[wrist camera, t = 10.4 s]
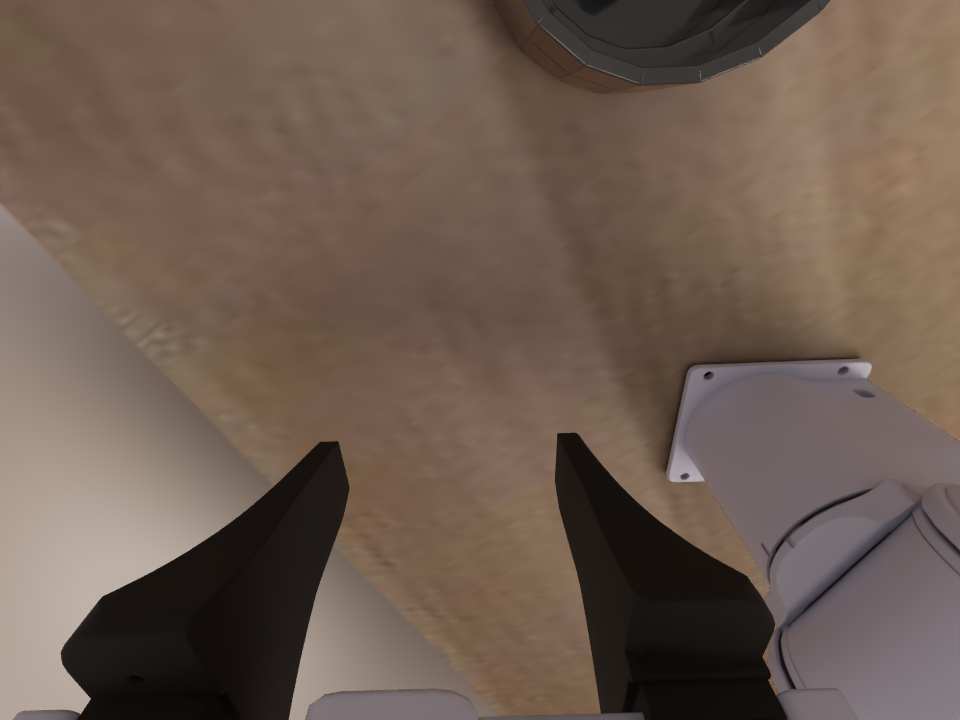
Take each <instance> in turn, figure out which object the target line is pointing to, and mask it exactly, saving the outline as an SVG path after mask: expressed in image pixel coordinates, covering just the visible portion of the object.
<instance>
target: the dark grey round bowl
mask: <svg viewBox="0 0 960 720" xmlns="http://www.w3.org/2000/svg"><path fill="white" fill-rule="evenodd" d="M829 1H830V0H493V2H494V5H495V7H496V9H497V10H498V12H499V14H500V15H501V17H502V18H503V20H504V22H505V23H506V25H507V27H508V28H509V30H510V31H511V33H512V35H513V36H514V38H515V40H516V41H517V43H518V44H519V46H520V48H521V49H522V48H523V51H524V52H525V53H527V54H528V55H529V56H530V57H531V58H533V59H534V60H535V61H536V62H537V63H539V64H540V65H541V66H542V67H543V68H545V69H546V70H547V71H548V72H549V73H551V74H552V75H553V76H554V77H555V78H559V80H561V81H564V82H567V83H570V84H573V85H575V86H578V87H581V88H584V89H587V90H590V91H593V92H596V93H602V94H604V93H626V92H644V91H650V90H656V89H663V88H670V87H676V86H683V85H689V84H696V83H700V82H703V81H706V80H708V79H711V78H713V77H716V76H718V75H721V74H723V73H726V72H728V71H731V70H733V69H736V68H738V67H741V66H743V65H746V64H748V63H750V62H753V61H755V60H758V59H759V58H761V57H763V56H764V55H765V54H767V53H768V52H769V51H771V50H772V49H773V48H775V47H776V46H777V45H778V44H780V43H781V42H782V41H784V40H785V39H786V38H788V37H789V36H790V35H791V34H793V33H794V32H795V31H797V30H798V29H799V28H801V27H802V26H803V25H804V24H806V23H807V22H808V21H810V20H811V19H812V18H814V17H815V16H816V15H817V14H819V13H820V11H822V10H823V9H824V7H825V6H826V5H827V4H828V3H829Z"/></svg>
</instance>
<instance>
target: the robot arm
mask: <svg viewBox="0 0 960 720" xmlns="http://www.w3.org/2000/svg"><path fill="white" fill-rule="evenodd" d="M842 367H843V368H842ZM840 368H842V369H841V370H839V369H840ZM871 369H872V365H871V363H870V362H868V361H867V360H865V359H838V360H812V361H786V362H759V363H733V364H707V365H695V366H693V367H691V368H690V369H689V370H688V372H687V375H686V380H685V385H684V390H683V394H682V399H681V404H680V409H679V414H678V418H677V423H676V428H675V433H674V437H673V442H672V447H671V452H670V457H669V461H668V466H667V471H666V476H667V478H668V479H669V481H671V482H696V481H705V482H706V484H707V485H708V487H709V489H710V490H711V492H712V493H713V495H714V497H715V498H716V500H717V501H718V503H719V504H720V506H721V508H722V509H723V511H724V512H725V514H726V516H727V517H728V519H729V520H730V522H731V524H732V525H733V527H734V528H735V530H736V532H737V533H738V535H739V536H740V538H741V540H742V541H743V543H744V544H745V546H746V548H747V549H748V551H749V552H750V554H751V555H752V557H753V559H754V560H755V562H756V563H757V565H758V567H759V568H760V570H761V571H762V573H763V575H764V576H765V578H766V579H767V581H768V583H769V584H770V590H769V592H768V594H767V595H766V596H765V598H764V599H763V598H762V597H761V595H760V594H759V592H758V591H757V589H756V588H755V587H754V585H753V584H752V583H751V582H750V580H749V578H748V577H747V576H746V575H744V574H742V573H740V572H739V571H737V570H735V569H733V568H731V567H729V566H728V565H726V564H724V563H722V562H720V561H718V560H717V559H715V558H713V557H711V556H710V555H708V554H706V553H705V552H703V551H702V550H700V549H698V548H697V547H695V546H694V545H692V544H690V543H689V542H687V541H686V540H685V539H683V538H682V537H680V536H679V535H677V534H676V533H675V532H673V531H672V530H671V529H669V528H668V527H666V526H665V525H664V524H662V523H661V522H660V521H658V520H657V519H656V518H655V517H654V516H652V515H651V514H650V513H649V512H648V511H647V510H645V509H644V508H643V507H642V506H641V505H640V504H639V503H638V502H636V501H635V500H634V499H633V498H632V497H631V496H630V495H629V494H628V493H627V492H626V491H625V490H624V489H623V488H622V487H621V486H620V485H619V484H618V482H617V481H616V480H615V479H614V478H613V477H612V476H611V475H610V474H609V472H608V471H607V470H606V469H605V468H604V467H603V466H602V464H601V463H600V462H599V461H598V460H597V458H596V457H595V456H594V455H593V453H592V452H591V451H590V449H589V448H588V447H587V446H586V444H585V443H584V441H583V440H582V439H581V437H580V436H579V435H578V434H577V433H557V452H556V470H555V484H556V491H557V497H558V503H559V509H560V513H561V517H562V520H563V524H564V528H565V531H566V535H567V538H568V542H569V545H570V549H571V553H572V556H573V560H574V563H575V567H576V570H577V574H578V579H579V583H580V587H581V593H582V599H583V604H584V610H585V615H586V621H587V627H588V633H589V639H590V645H591V651H592V657H593V664H594V670H595V677H596V683H597V690H598V696H599V703H600V710H601V714H566V715H530V716H495V717H478V714H477V710H476V708H475V707H474V705H473V704H472V702H471V701H470V700H469V699H468V698H467V697H465V696H463V695H461V694H458V693H457V692H454V691H450V690H442V689H405V690H370V691H341V692H336V693H330V694H325V695H324V696H322V697H321V698H320V699H318V700H316V701H315V702H314V703H312V704H311V705H309V708H308V712H307V715H306V719H305V720H960V441H958V440H957V439H955V438H954V437H952V436H951V435H949V434H948V433H946V432H945V431H943V430H942V429H940V428H939V427H937V426H936V425H934V424H933V423H931V422H930V421H928V420H927V419H925V418H924V417H922V416H921V415H919V414H918V413H916V412H915V411H913V410H912V409H910V408H909V407H907V406H906V405H904V404H903V403H902V402H900V401H899V400H897V399H896V398H894V397H893V396H891V395H890V394H888V393H887V392H885V391H884V390H882V389H881V388H879V387H878V386H876V385H875V384H873V383H872V382H870V381H869V380H867V378H868V376H869V374H870V371H871ZM838 370H839V371H838ZM707 372H710V374H709V375H708V376H705V377H704V375H705V373H707ZM683 473H685V474H684V475H682V474H683ZM349 488H350V487H349V483H348V479H347V475H346V471H345V467H344V462H343V458H342V454H341V450H340V446H339V442H338V441H334V442H320V443H318V444H317V445H316V446H315V447H314V448H313V449H312V450H311V451H310V452H309V453H308V454H307V455H306V456H305V457H304V458H303V459H302V460H301V461H300V462H299V463H298V464H297V465H296V466H295V467H294V468H293V469H292V470H291V471H290V472H289V473H288V474H287V475H286V476H285V477H284V478H283V479H282V480H281V481H279V482H278V483H277V484H276V485H275V486H274V487H273V488H272V489H271V490H269V491H268V492H267V493H266V494H265V495H264V496H263V497H262V498H260V499H259V500H258V501H257V502H256V503H255V504H254V505H252V506H251V507H250V508H249V509H248V510H246V511H245V512H244V513H242V514H241V515H240V516H239V517H237V518H236V519H235V520H233V521H232V522H231V523H229V524H228V525H227V526H225V527H224V528H222V529H221V530H220V531H219V532H217V533H215V534H214V535H212V536H211V537H209V538H208V539H206V540H205V541H203V542H202V543H200V544H198V545H197V546H196V547H194V548H192V549H191V550H189V551H188V552H186V553H184V554H183V555H181V556H179V557H178V558H176V559H174V560H173V561H171V562H169V563H167V564H166V565H164V566H162V567H160V568H158V569H157V570H155V571H153V572H151V573H149V574H147V575H145V576H144V577H142V578H140V579H137V580H135V581H133V582H131V583H130V584H127V585H125V586H123V587H121V588H120V589H117V590H115V591H113V592H111V593H109V594H107V595H105V596H103V597H102V598H101V599H100V600H99V601H98V603H97V604H96V605H95V606H94V608H93V609H92V610H91V612H90V613H89V614H88V615H87V617H86V618H85V619H84V620H83V622H82V623H81V624H80V626H79V627H78V628H77V629H76V631H75V632H74V633H73V634H72V636H71V637H70V638H69V640H68V641H67V642H66V643H65V645H64V647H63V649H62V651H61V658H62V664H63V666H64V667H65V669H66V670H67V672H68V673H69V674H70V675H71V676H72V677H73V679H74V680H75V681H76V682H77V683H78V684H79V686H80V687H81V688H82V689H83V690H84V691H85V692H86V694H87V695H88V696H89V697H90V698H91V700H90V701H89V703H88V704H87V706H86V707H85V709H84V711H83V712H82V713H81V714H79V713H77V712H74V711H70V710H41V711H40V710H39V711H38V710H37V711H22V712H20V713H18V714H17V715H16V716H15V718H14V719H13V720H289V714H290V709H291V703H292V698H293V693H294V688H295V683H296V678H297V674H298V668H299V664H300V659H301V655H302V650H303V646H304V641H305V637H306V632H307V628H308V624H309V620H310V616H311V612H312V608H313V604H314V600H315V596H316V593H317V590H318V586H319V583H320V580H321V577H322V575H323V572H324V569H325V566H326V563H327V561H328V558H329V555H330V552H331V550H332V547H333V544H334V542H335V539H336V536H337V533H338V530H339V528H340V525H341V522H342V519H343V516H344V512H345V507H346V503H347V498H348V493H349ZM775 623H776V625H777V627H778V628H776V629H775V630H774V627H775ZM766 648H767V659H768V664H769V668H770V671H769V669H768V667H767V665H766V663H765V661H764V659H763V657H762V656H763V654H764V652H765V650H766ZM770 672H771V674H770ZM771 675H772V678H773V681H774V683H775V686H776V688H777V690H778V692H779V693H778V694H777V695H775V693H774V691H773V689H772V687H771V685H770V683H769V681H768V679H770V677H771Z"/></svg>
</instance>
